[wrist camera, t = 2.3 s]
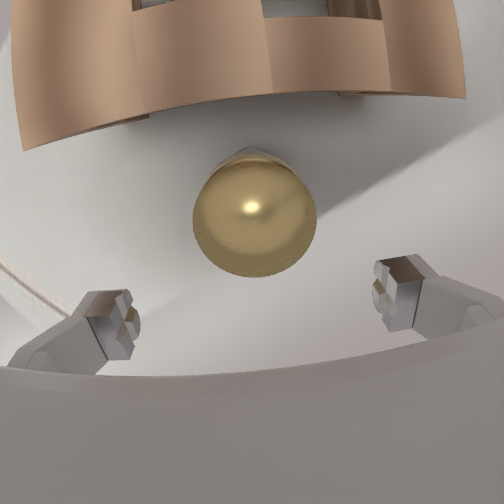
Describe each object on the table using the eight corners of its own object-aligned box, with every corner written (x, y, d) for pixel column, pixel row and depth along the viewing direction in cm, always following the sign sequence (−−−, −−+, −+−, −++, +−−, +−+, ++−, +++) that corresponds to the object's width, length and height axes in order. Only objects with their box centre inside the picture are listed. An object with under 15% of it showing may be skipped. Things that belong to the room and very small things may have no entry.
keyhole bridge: (348, -20, 19) (422, -91, 6) (364, 95, 25) (465, 98, 11) (110, 9, 20) (15, -37, 7) (124, 123, 25) (23, 151, 12)
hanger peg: (281, 131, 26) (313, 156, 14) (287, 195, 29) (317, 270, 16) (213, 138, 27) (182, 171, 14) (222, 202, 29) (204, 282, 17)
